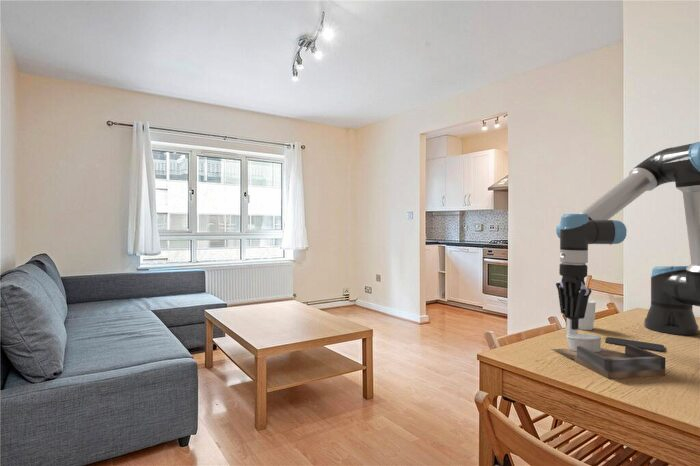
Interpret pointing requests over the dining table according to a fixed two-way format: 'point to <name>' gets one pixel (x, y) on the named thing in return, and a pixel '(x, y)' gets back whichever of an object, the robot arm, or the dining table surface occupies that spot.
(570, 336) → the ramekin
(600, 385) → the dining table surface
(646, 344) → the phone
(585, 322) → the white cup
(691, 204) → the robot arm
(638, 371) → the dock
